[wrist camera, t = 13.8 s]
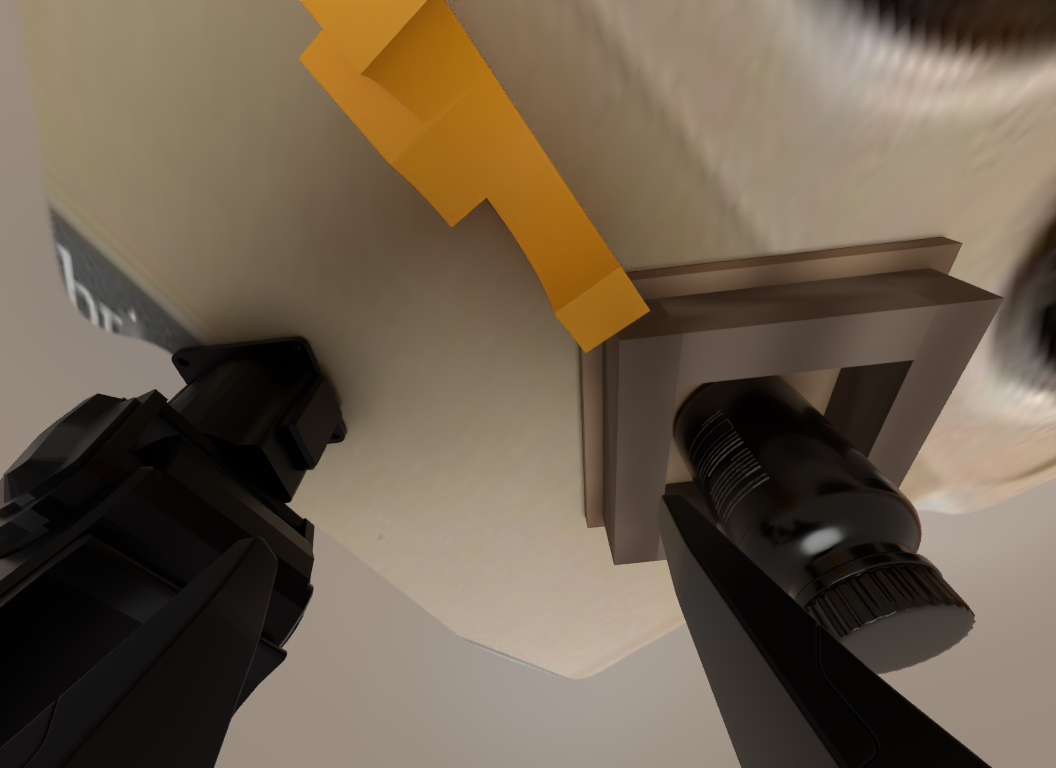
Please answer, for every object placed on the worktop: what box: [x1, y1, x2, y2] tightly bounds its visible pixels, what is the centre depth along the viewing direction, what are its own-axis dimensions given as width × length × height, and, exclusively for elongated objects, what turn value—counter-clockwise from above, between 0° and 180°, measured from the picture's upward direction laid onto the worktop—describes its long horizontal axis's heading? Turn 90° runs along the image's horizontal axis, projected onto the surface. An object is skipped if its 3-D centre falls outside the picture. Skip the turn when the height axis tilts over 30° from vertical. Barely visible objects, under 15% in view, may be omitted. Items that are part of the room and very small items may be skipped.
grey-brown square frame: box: [579, 237, 1004, 565], centre depth 23 cm, size 17×17×4 cm
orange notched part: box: [298, 0, 650, 353], centre depth 15 cm, size 12×4×6 cm, turn 38°
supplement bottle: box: [675, 375, 975, 674], centre depth 19 cm, size 7×7×12 cm
